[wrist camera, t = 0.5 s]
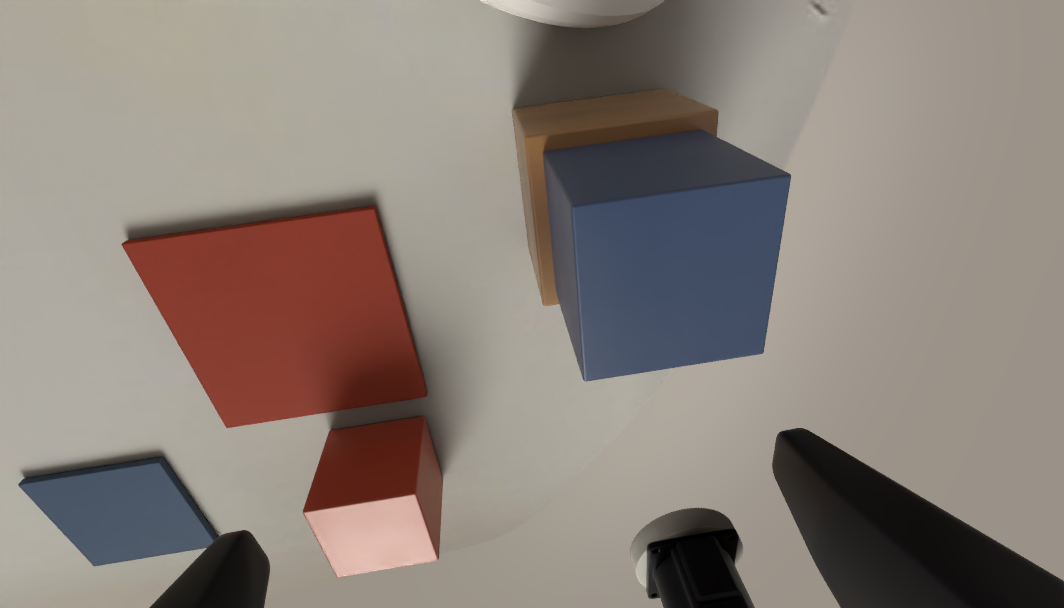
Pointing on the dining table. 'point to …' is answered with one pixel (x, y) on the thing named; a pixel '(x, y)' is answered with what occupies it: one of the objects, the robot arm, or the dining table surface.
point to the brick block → (377, 497)
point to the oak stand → (588, 127)
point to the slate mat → (122, 511)
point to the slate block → (663, 250)
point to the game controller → (577, 11)
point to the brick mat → (285, 314)
